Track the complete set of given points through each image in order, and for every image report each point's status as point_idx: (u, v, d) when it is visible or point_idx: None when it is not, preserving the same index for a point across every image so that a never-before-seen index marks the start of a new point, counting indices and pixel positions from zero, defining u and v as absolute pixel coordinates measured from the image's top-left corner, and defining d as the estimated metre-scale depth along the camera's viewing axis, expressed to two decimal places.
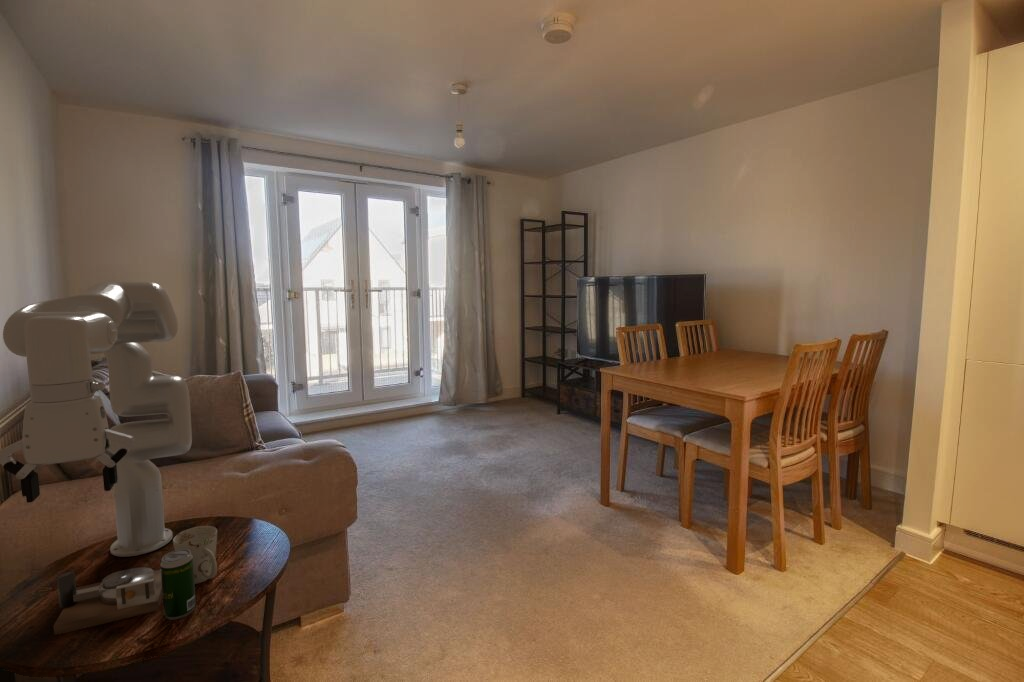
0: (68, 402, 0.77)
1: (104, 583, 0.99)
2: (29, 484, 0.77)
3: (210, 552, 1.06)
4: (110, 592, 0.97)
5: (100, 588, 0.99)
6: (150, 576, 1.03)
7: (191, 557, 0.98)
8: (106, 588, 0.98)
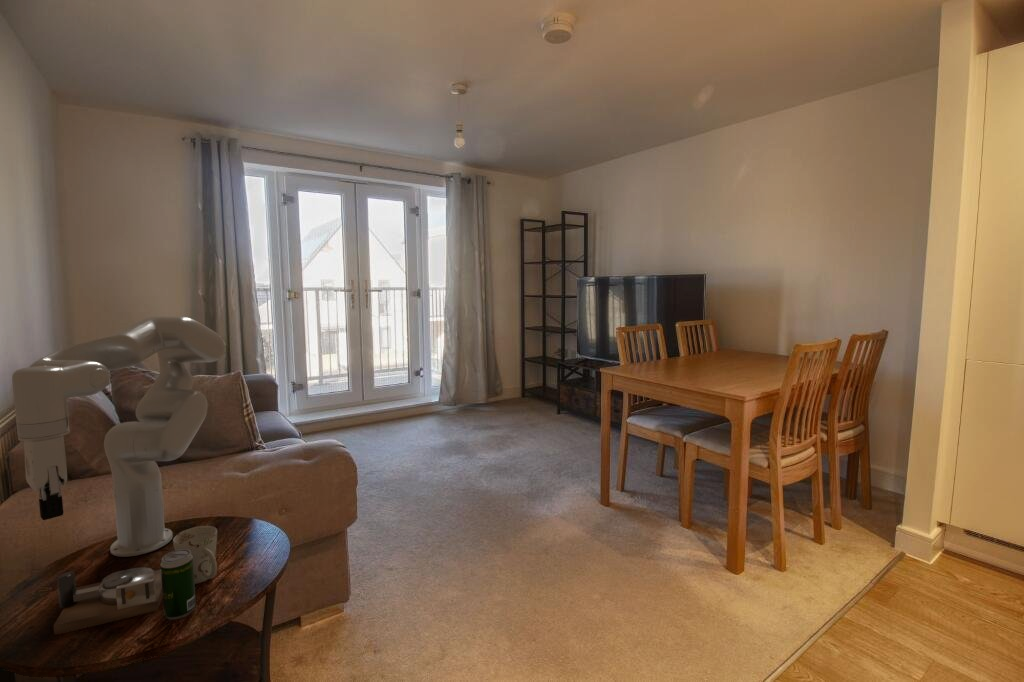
0: None
1: (104, 583, 0.99)
2: None
3: (210, 552, 1.06)
4: (110, 592, 0.97)
5: (100, 588, 0.99)
6: (150, 576, 1.03)
7: (191, 557, 0.98)
8: (106, 588, 0.98)
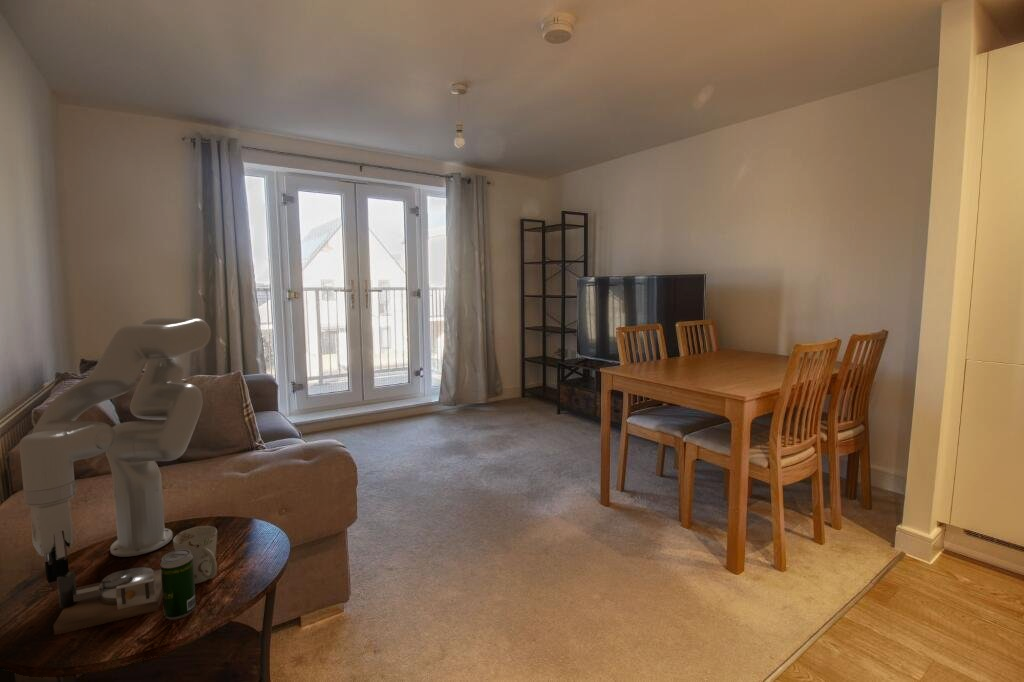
0: None
1: (104, 583, 0.99)
2: None
3: (210, 552, 1.06)
4: (110, 592, 0.97)
5: (100, 588, 0.99)
6: (150, 576, 1.03)
7: (191, 557, 0.98)
8: (106, 588, 0.98)
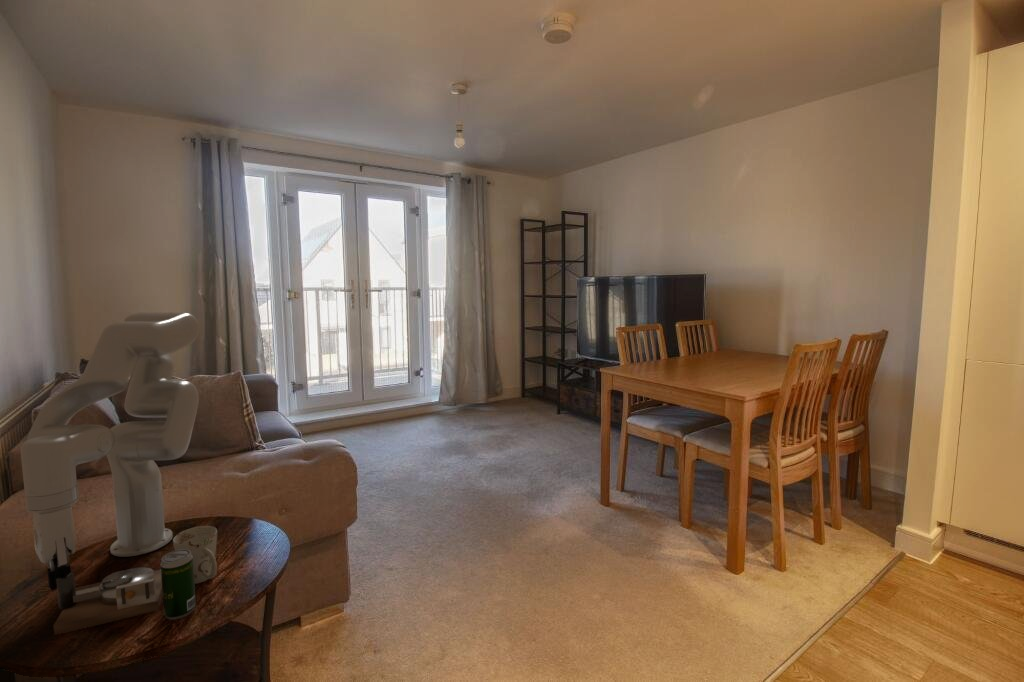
0: None
1: (104, 583, 0.99)
2: None
3: (210, 552, 1.06)
4: (110, 592, 0.97)
5: (100, 588, 0.98)
6: (150, 576, 1.03)
7: (191, 557, 0.98)
8: (106, 589, 0.98)
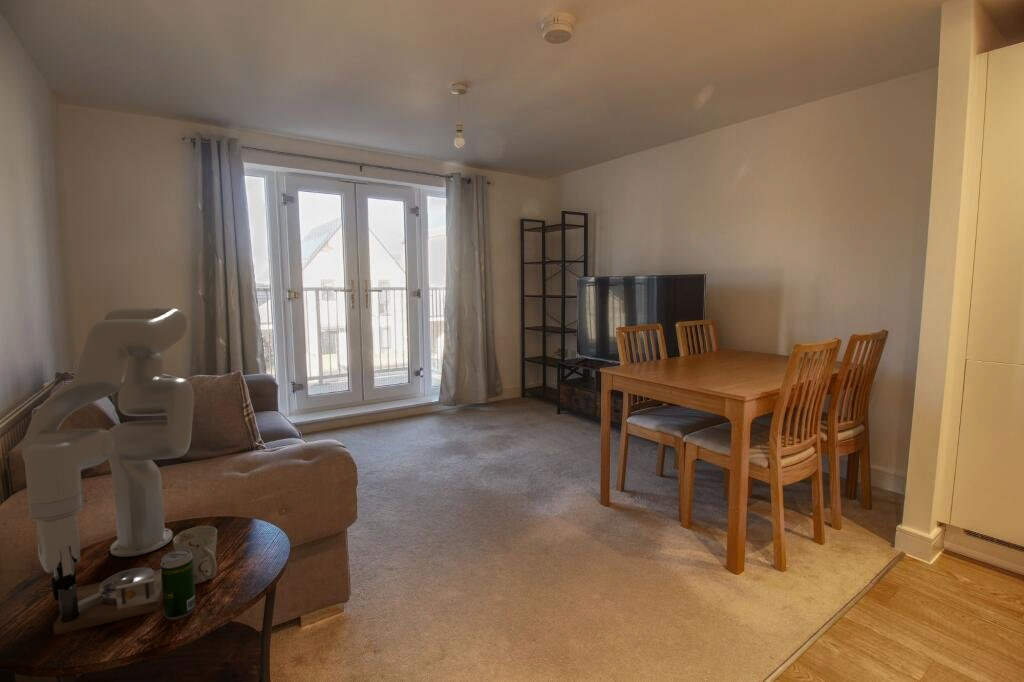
0: None
1: (111, 586, 0.98)
2: None
3: (210, 552, 1.06)
4: None
5: (106, 592, 0.97)
6: (151, 570, 1.05)
7: (191, 557, 0.98)
8: (114, 590, 0.98)
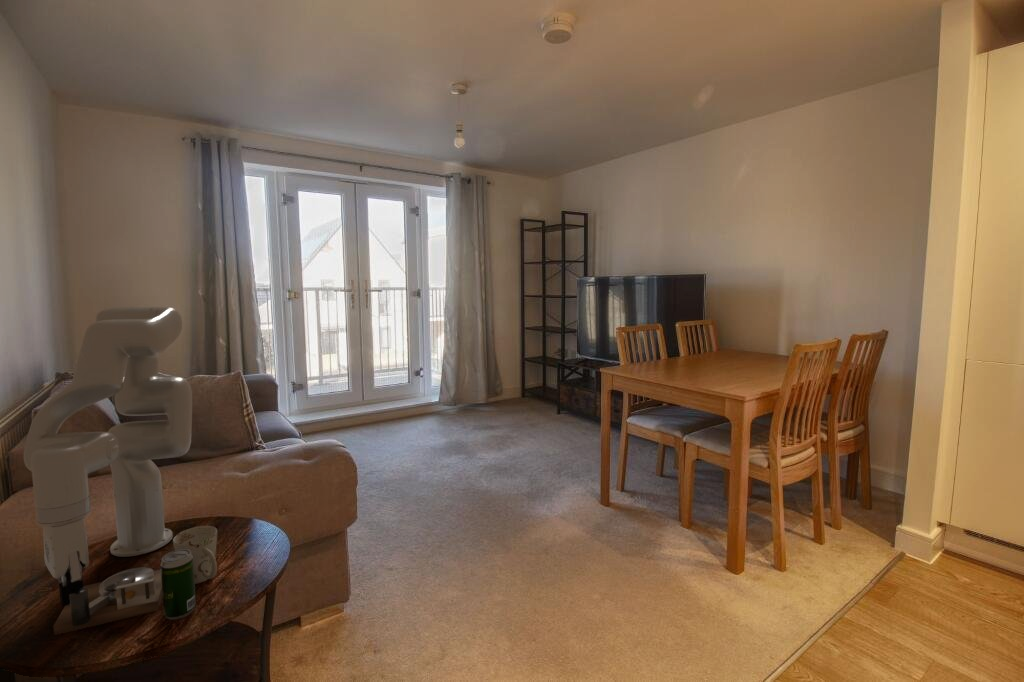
0: None
1: (117, 585, 0.98)
2: None
3: (210, 552, 1.06)
4: None
5: (113, 592, 0.97)
6: (147, 569, 1.05)
7: (191, 557, 0.98)
8: None
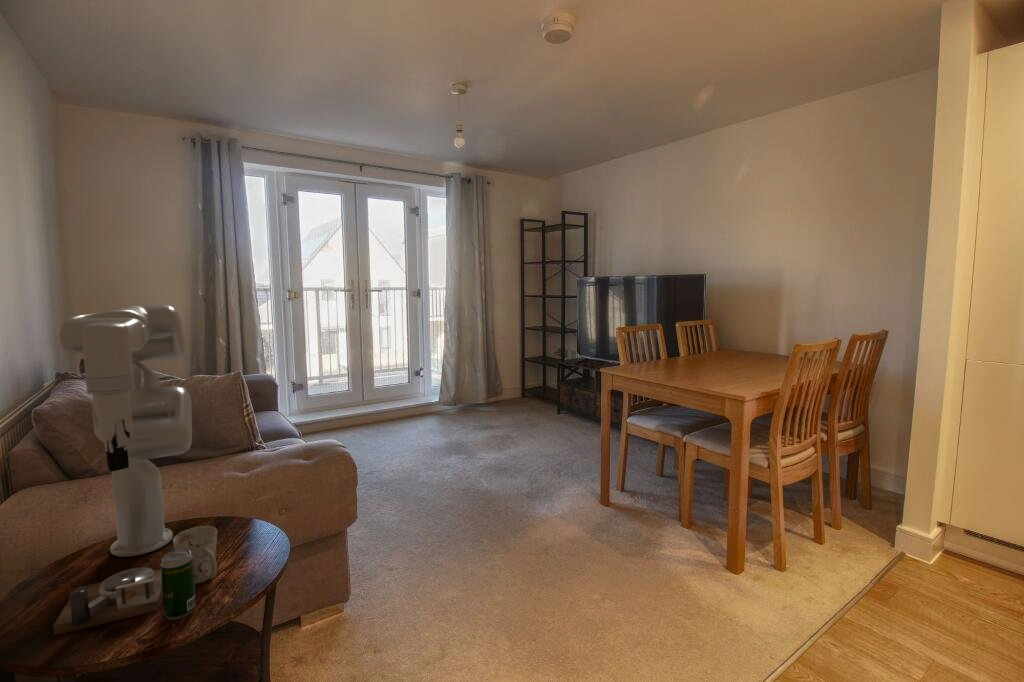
0: None
1: (117, 585, 0.98)
2: None
3: (210, 552, 1.06)
4: None
5: (113, 592, 0.97)
6: (147, 569, 1.05)
7: (191, 557, 0.98)
8: None
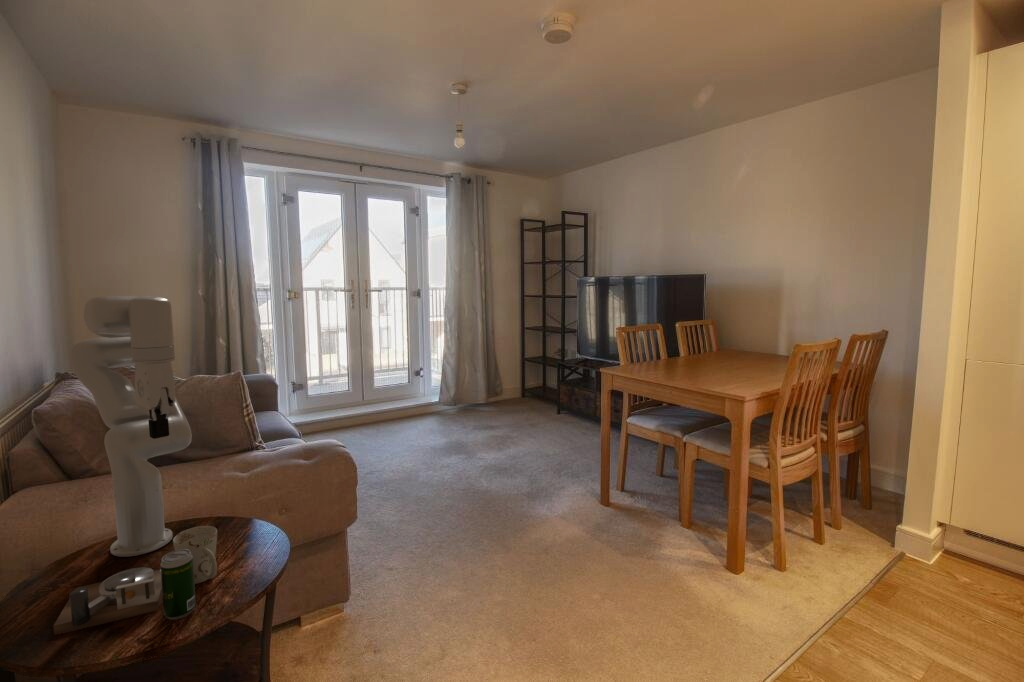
0: None
1: (117, 585, 0.98)
2: None
3: (210, 552, 1.06)
4: None
5: (113, 592, 0.97)
6: (147, 569, 1.05)
7: (191, 557, 0.98)
8: None
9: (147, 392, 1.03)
